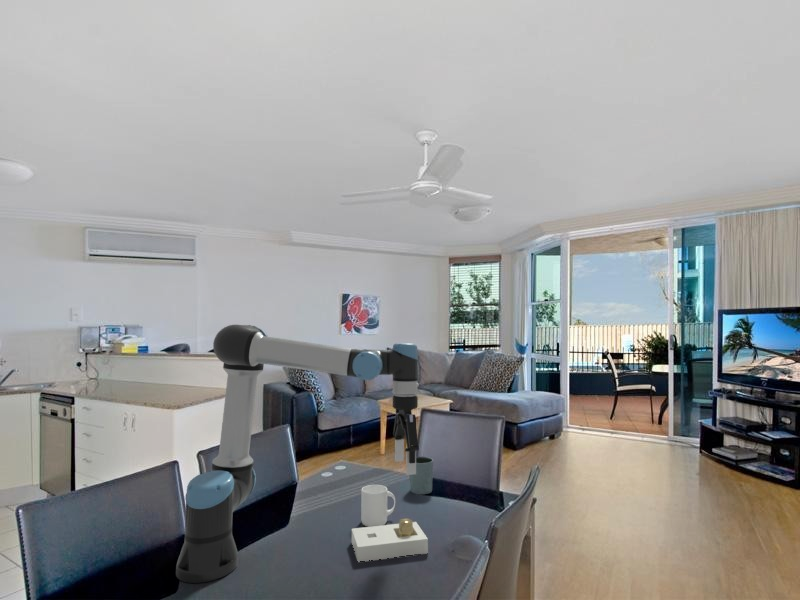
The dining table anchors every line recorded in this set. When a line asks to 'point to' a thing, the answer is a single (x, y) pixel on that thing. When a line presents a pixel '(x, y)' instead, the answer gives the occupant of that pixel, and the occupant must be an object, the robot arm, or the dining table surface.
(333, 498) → the dining table surface
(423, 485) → the grey-green cup
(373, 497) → the mug
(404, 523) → the cylinder
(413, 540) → the block
